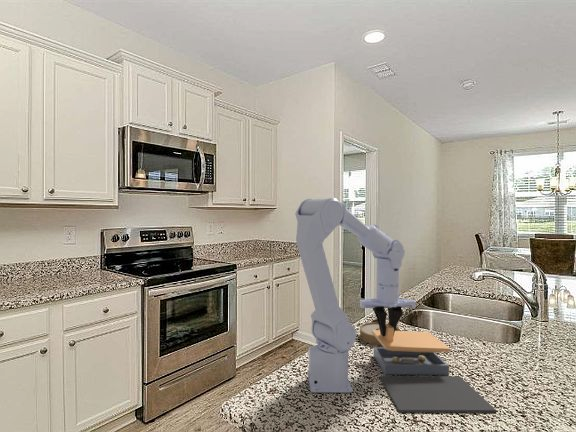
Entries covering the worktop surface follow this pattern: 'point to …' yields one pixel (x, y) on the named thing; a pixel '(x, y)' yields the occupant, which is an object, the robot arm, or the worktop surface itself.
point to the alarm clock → (367, 332)
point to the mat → (434, 394)
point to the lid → (409, 341)
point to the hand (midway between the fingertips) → (386, 334)
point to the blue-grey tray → (410, 362)
